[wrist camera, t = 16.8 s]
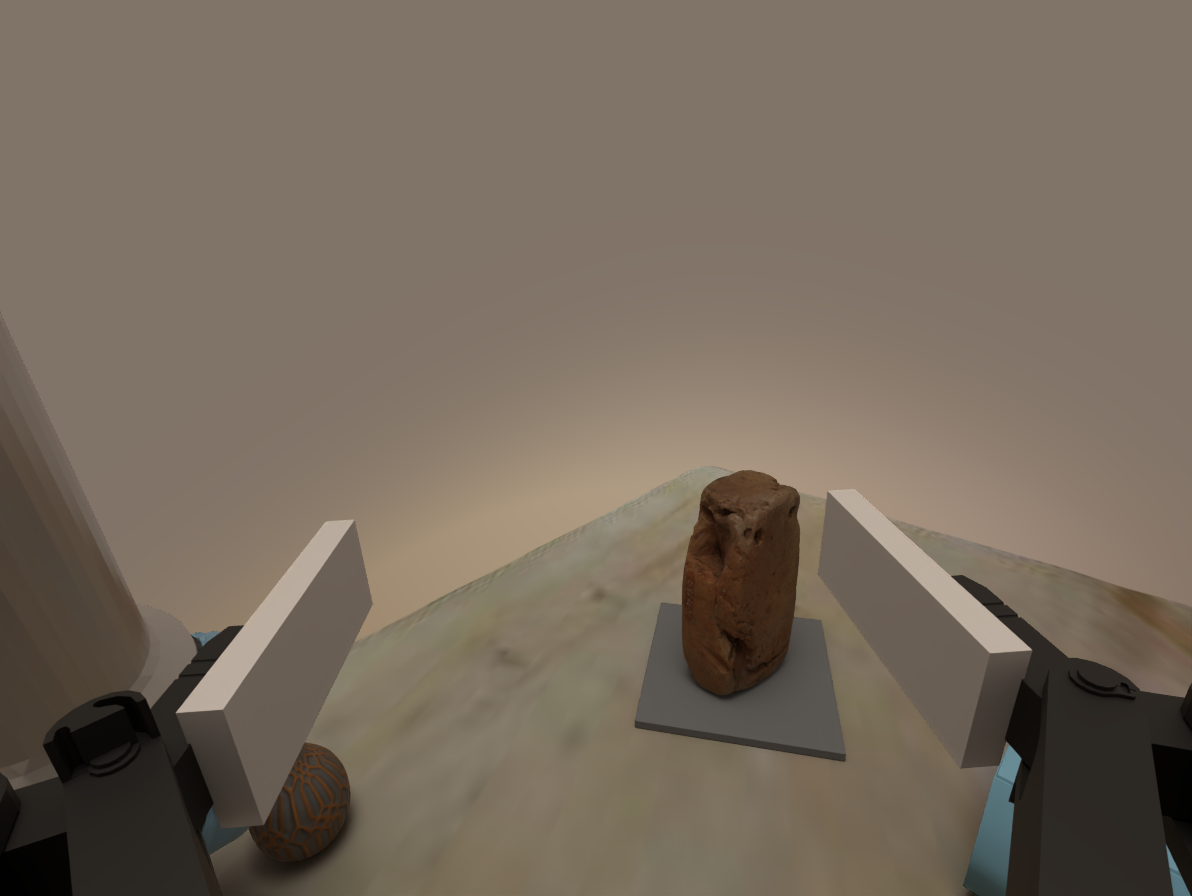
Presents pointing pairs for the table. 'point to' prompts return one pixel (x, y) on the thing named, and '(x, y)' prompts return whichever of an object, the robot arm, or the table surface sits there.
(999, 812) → the teapot
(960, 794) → the table surface
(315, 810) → the vase
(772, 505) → the block
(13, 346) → the robot arm
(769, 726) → the mat
